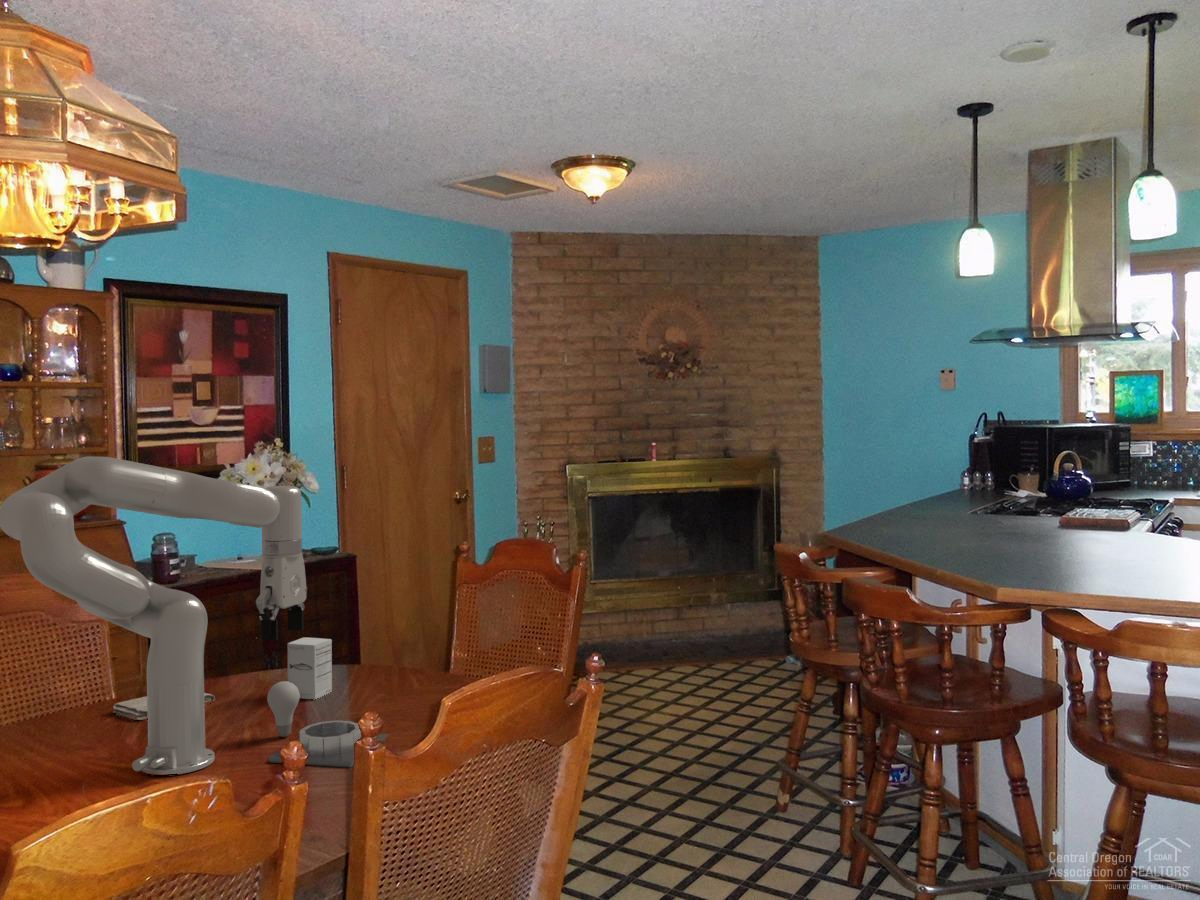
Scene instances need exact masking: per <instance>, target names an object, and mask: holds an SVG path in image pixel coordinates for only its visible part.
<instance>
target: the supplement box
mask: <svg viewBox="0 0 1200 900" xmlns="http://www.w3.org/2000/svg"><path fill="white" fill-rule="evenodd" d="M332 643H333V640H332V638H322V637H321V638H320V637H301V638H298V639H295V640H293V641H289V642H287V681H288V682H291V683H293V684H294V685H295V686H296V687H297V688H298V690H299V693H300V699H302V700H303V699H305V700H311V699H313V700H312V701H316V700H318V699H317V698H319V699H320V697H321V698H323V697H325V696H327V695H329V694H331V693H333V691H332V690H333V688H332V687H333V671H332V669H333V668H332V667H333V666H332V664H333V662H332V661H333V659H332V658H333V657H332V656H333V653H332V652H333V651H332V647H333V645H332ZM330 692H331V693H330ZM328 693H329V694H328ZM326 694H327V695H326ZM324 695H325V696H324ZM322 696H323V697H322ZM315 699H316V700H315Z"/></svg>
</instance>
